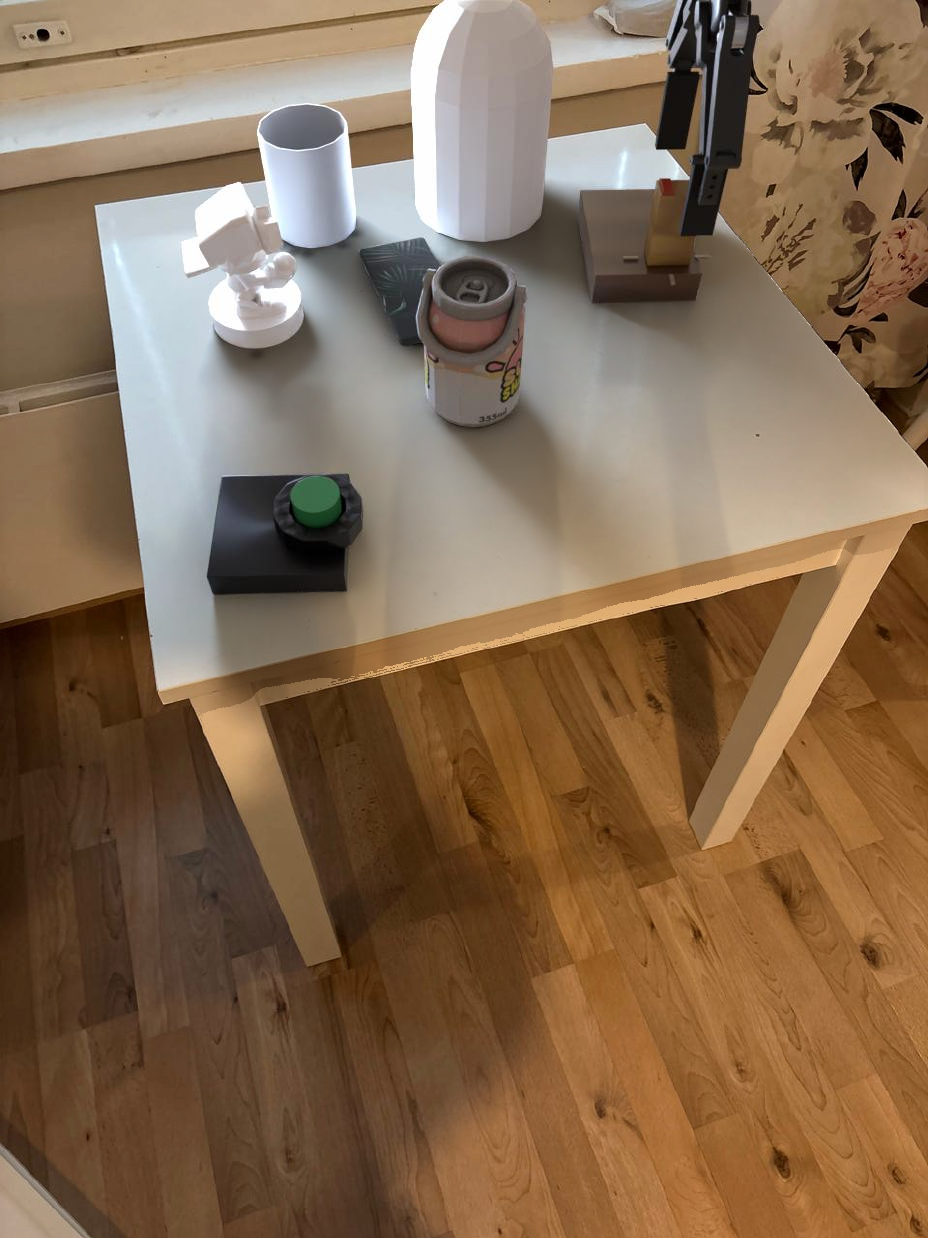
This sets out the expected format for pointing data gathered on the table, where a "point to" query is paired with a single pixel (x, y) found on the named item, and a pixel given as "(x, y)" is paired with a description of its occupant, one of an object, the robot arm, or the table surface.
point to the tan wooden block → (668, 225)
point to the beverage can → (472, 339)
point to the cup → (308, 174)
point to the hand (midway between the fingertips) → (682, 188)
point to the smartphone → (400, 281)
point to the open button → (316, 501)
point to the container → (481, 118)
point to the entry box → (279, 538)
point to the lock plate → (628, 251)
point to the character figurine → (245, 271)
